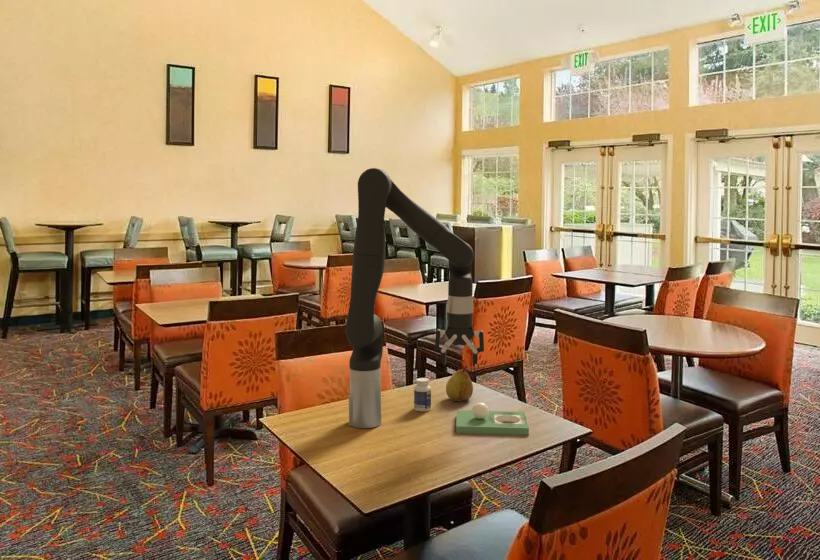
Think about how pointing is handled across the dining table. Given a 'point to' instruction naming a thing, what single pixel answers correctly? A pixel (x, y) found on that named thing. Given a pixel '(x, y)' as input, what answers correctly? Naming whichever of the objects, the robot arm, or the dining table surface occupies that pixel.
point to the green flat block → (492, 423)
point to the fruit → (459, 386)
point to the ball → (480, 410)
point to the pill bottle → (422, 395)
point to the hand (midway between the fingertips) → (459, 365)
